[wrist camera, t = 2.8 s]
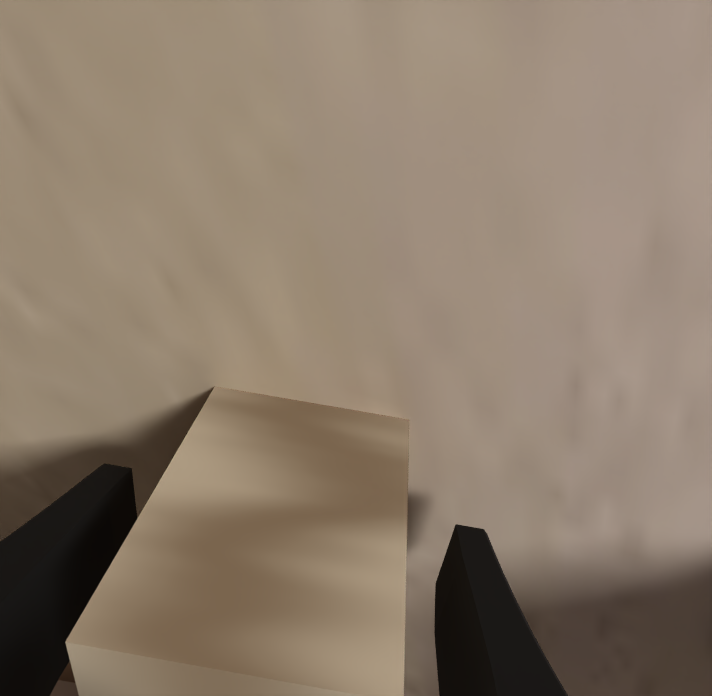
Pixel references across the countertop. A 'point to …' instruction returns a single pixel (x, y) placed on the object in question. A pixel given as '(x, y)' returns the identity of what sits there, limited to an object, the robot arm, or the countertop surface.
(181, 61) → the countertop surface
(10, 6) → the countertop surface
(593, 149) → the countertop surface
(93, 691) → the beech block
